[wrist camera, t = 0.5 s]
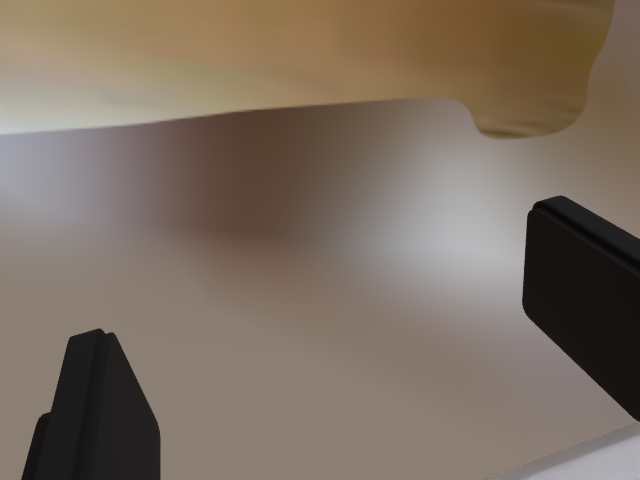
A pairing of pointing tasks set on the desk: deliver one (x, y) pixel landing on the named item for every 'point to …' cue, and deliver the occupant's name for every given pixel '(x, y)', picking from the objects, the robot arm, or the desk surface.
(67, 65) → the desk surface
